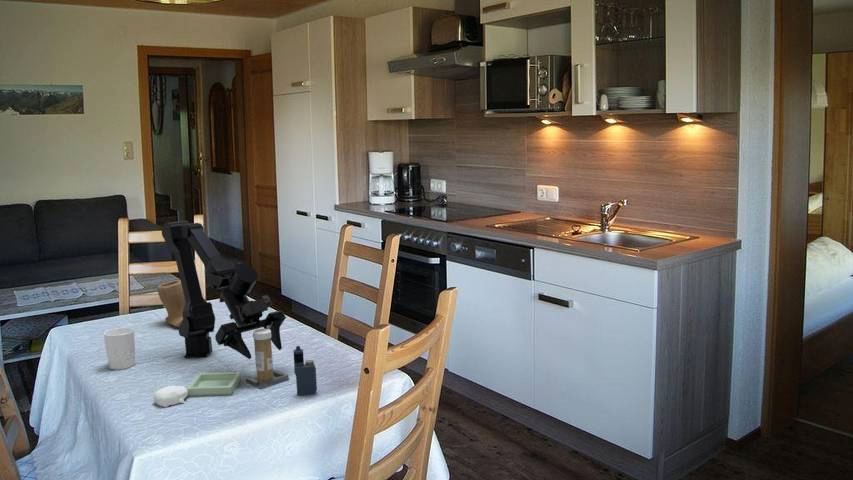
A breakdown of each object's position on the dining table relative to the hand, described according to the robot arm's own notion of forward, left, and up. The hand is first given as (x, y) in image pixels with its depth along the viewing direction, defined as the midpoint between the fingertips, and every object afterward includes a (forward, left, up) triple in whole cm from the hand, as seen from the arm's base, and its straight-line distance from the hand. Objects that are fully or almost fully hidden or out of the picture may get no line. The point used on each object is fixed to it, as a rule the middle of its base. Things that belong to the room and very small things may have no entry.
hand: (265, 353), depth 190 cm
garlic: (-21, -11, -8) cm, 25 cm away
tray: (-13, -3, -7) cm, 15 cm away
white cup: (-44, +17, -8) cm, 47 cm away
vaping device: (+11, -9, -8) cm, 16 cm away
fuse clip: (-1, +1, -7) cm, 8 cm away
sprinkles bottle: (-1, +1, -8) cm, 8 cm away
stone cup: (-40, +58, -8) cm, 70 cm away
